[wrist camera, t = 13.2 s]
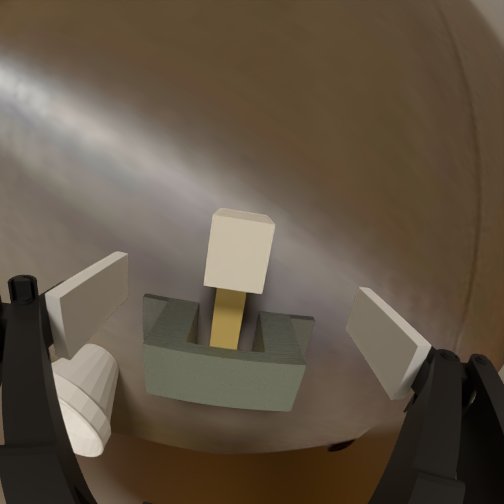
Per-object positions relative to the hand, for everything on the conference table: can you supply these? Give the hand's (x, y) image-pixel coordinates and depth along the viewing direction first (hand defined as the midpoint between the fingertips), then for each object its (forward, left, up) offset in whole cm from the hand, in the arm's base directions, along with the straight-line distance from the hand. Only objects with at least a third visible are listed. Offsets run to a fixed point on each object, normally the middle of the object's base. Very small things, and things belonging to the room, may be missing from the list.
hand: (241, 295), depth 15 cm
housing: (0, -11, -15) cm, 19 cm away
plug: (0, -7, -15) cm, 17 cm away
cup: (-18, -21, -15) cm, 32 cm away
